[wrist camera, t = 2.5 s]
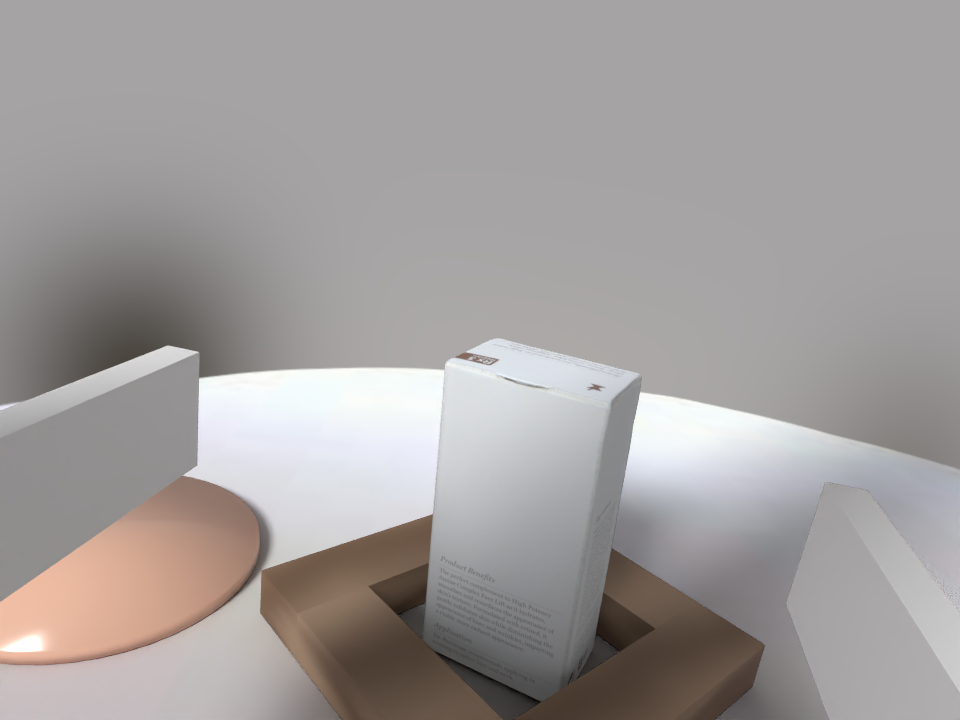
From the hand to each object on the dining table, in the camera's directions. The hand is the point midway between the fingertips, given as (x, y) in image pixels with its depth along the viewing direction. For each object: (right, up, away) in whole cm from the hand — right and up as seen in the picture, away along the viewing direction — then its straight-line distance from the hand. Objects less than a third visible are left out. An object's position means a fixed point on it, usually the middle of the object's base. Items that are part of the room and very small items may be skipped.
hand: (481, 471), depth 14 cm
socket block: (+1, -9, +13) cm, 16 cm away
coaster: (-16, -6, +15) cm, 23 cm away
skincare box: (+1, -9, +13) cm, 16 cm away
